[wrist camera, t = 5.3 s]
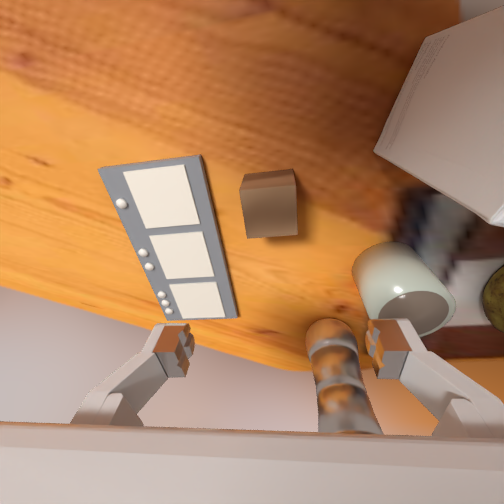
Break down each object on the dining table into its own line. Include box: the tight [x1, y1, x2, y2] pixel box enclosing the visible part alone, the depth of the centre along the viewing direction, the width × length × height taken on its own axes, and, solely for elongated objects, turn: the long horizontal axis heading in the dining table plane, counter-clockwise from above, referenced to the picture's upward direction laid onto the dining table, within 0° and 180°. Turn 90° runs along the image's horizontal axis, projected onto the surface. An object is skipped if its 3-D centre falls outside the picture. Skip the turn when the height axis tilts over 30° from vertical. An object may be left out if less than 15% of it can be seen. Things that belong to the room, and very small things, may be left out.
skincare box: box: [373, 5, 504, 227], centre depth 14 cm, size 8×6×15 cm
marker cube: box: [239, 169, 298, 239], centre depth 23 cm, size 4×4×4 cm
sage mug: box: [352, 242, 456, 337], centre depth 26 cm, size 7×7×7 cm
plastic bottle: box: [305, 318, 384, 435], centre depth 27 cm, size 6×7×20 cm
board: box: [98, 155, 238, 321], centre depth 29 cm, size 21×10×1 cm, turn 8°
